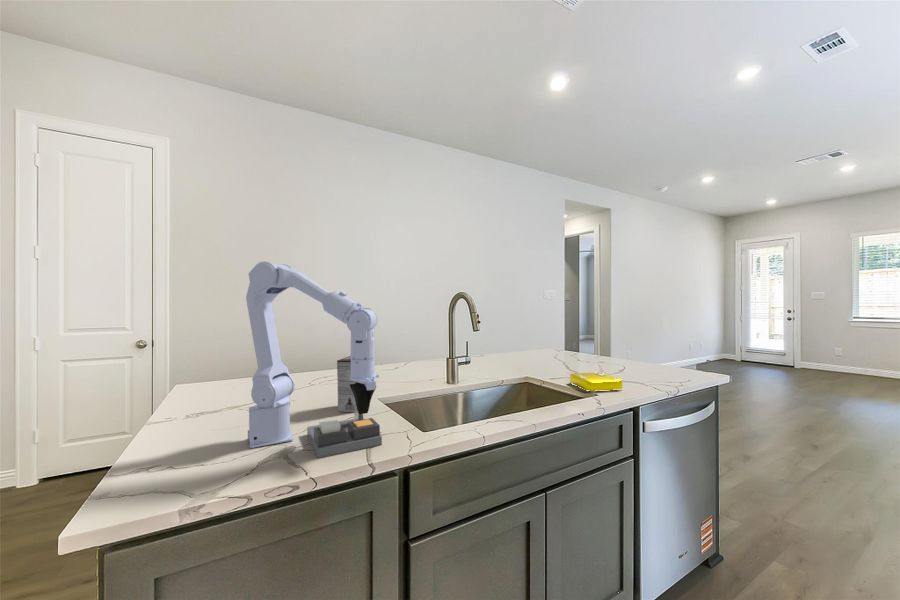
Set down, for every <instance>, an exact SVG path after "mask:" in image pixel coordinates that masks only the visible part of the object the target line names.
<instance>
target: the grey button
mask: <svg viewBox="0 0 900 600" xmlns="http://www.w3.org/2000/svg"><path fill="white" fill-rule="evenodd" d="M339 422H340V421H338V419H329V420H324V421H319V422H318V423H319V424H318V425H319V431H320V432H321V434H327V433H333V432H338V431H340V423H339Z"/></svg>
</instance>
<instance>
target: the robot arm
mask: <svg viewBox="0 0 900 600" xmlns="http://www.w3.org/2000/svg"><path fill="white" fill-rule="evenodd" d="M248 279H249V284H248V288H247V292H246V296H245V297H246V299H245V300H246V306H247V312H248V317H249V323H250V330H251V334H252V341H253V345H254V352H255V357H256V365H257V369H256V371H255V372H254V374H253V376H252V378H251V379H252V387H251V391H250V392H251V393H250V396H251V399H252V401H253V403H254V404H255V405H253V406H249V407H248V430H247V438H248V439H249V448H250V449H253V448H258V447H259V448H260V447H265V446H270V445H275V444H281V443H287V442H292V441H293V440H294V438H293V434H292V432H291V425H290V424H291V423H290V422H291V420H290V419H291V417H290V415H291V413H290V411H291V410H290V400H291V395H292V393H293V392H294V390H295V381H294V379H293V377H292V375H291V373H290V371H289V368H288V367H287V366H286V365H285V364H284V363H283V361H282V356H281V355H282V354H281V350H280V344H279V338H278V332H277V326H276V322H275V315H274V310H273V304H272V303H273V301H274V300H275V299H276V298H277V297H278V296H279V295H280V294H281V293H283V292H284V291H286V290H287V289H289V288H293V289H296V290H299V292H301V293H303V294H305V295H307V296H308V297H310V298H312V299H314V300H316V301H318V302H319V303H321V305H322V308H323V311H324V312H326V313H327V314H328V315H329V314H330V315H331V316H332V317H334V318H335V319H337V320H338V321H340V322H342V323H344V324H345V325H346V327H347V329H348V330H349V331H350V356H351V375H350V380H351V381H354V382H357V383H356V384H350V388H351V390H352V392H353V394H354V397H355V401H356V406H357V411H358V413H359V414H363V415H366V414H368V413H369V409H370V405H371V401H372V398H373V395H374V393H375V391H376V390H377V381H376V379H378V378H379V379H380V374H379V373H376V372H375V369H376V368H375V366H376V365H375V364H376V363H375V361H376V354H375V353H376V349H375V346H376V345H375V343H376V342H375V341H376V339H375V327H376V326H377V324H378V316H377V314H376V313H375V311H373V309H371V308H369V307H363V303H361V302H356V301H354V300H353V299H351V298H349V297H348V296H347V293H346V292H344V291H337V290H335V291H328V290H327V289H326V288H325V287H323V286H321V285H320V283H319V284H318V283H317V282H316V281H314V280H313V279H311V278H310V277H308V276H307V275H306V274H304V273H303V272H301V270H298V269H296V268H293V267H291V265H289V264H278V263H272V262H269V261H260V262H258V263H256V265H254V267H253V268H252V269H251V270H249V272H248Z"/></svg>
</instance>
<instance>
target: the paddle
mask: <svg viewBox="0 0 900 600" xmlns="http://www.w3.org/2000/svg"><path fill="white" fill-rule="evenodd" d="M353 413H354V418H353V419H354V420H355V421H357V420H362V419H363V418H364V414H359V413H358V411H357V406H356V405H354V412H353Z"/></svg>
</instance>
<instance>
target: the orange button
mask: <svg viewBox="0 0 900 600" xmlns="http://www.w3.org/2000/svg"><path fill="white" fill-rule="evenodd" d="M366 419H367V420H361V421H355V422H353V425H354V426H355V427H356V428H360V427H366V426H371V425H374V424H373V423H372V422H371V421H370V420H369V419H368V418H366Z"/></svg>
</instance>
